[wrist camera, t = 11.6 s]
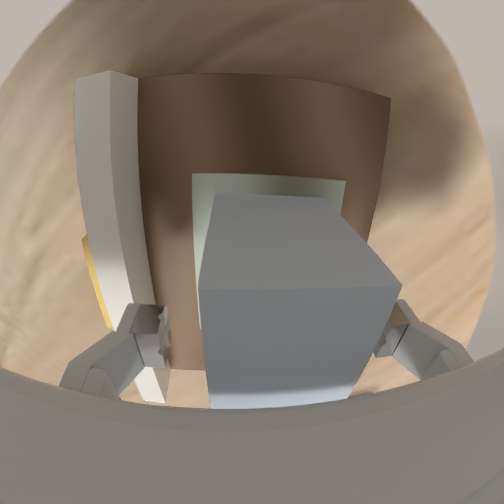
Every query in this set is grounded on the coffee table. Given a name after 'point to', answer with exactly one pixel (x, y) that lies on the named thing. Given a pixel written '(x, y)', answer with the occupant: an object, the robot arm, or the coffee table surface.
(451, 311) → the coffee table surface
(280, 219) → the product carton
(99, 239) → the price rail
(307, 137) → the shelf board
